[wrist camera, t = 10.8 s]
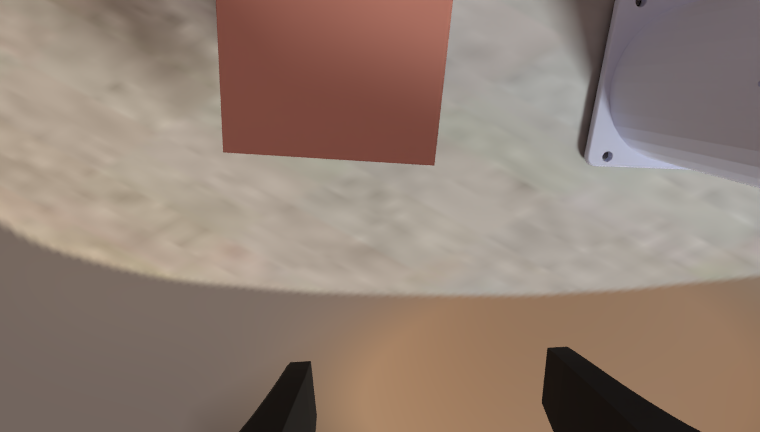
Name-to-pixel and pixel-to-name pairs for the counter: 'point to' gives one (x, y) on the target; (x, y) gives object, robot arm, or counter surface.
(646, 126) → the robot arm
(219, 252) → the counter surface
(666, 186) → the counter surface
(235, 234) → the counter surface
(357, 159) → the red block
